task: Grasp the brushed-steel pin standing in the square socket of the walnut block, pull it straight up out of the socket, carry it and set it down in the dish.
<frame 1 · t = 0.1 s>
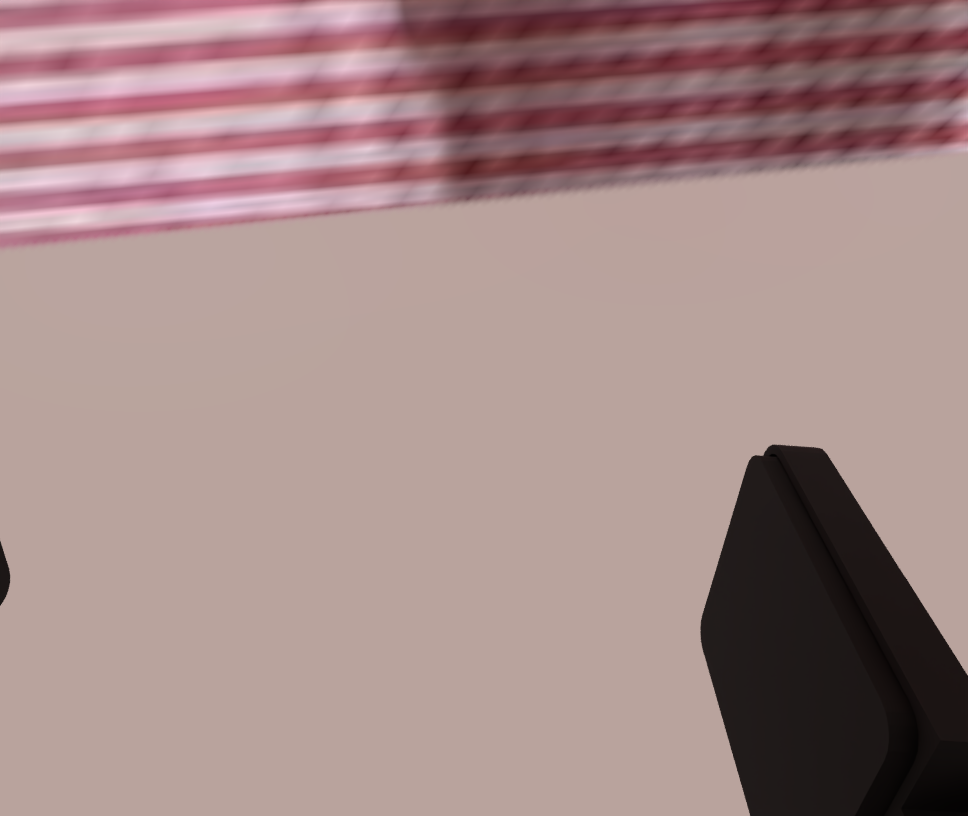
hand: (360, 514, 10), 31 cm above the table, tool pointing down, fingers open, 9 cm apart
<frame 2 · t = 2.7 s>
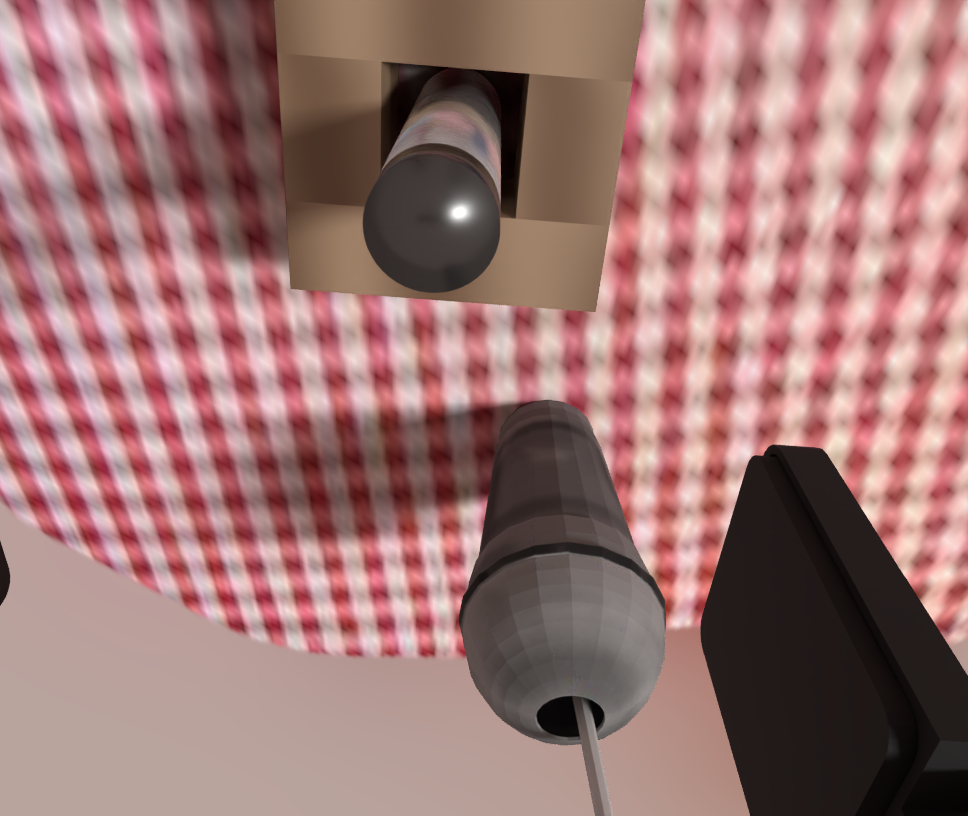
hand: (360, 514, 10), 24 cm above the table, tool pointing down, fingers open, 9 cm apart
beverage cup: (546, 438, 38), on the table
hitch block: (458, 113, 30), on the table
pin: (458, 113, 30), resting in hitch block
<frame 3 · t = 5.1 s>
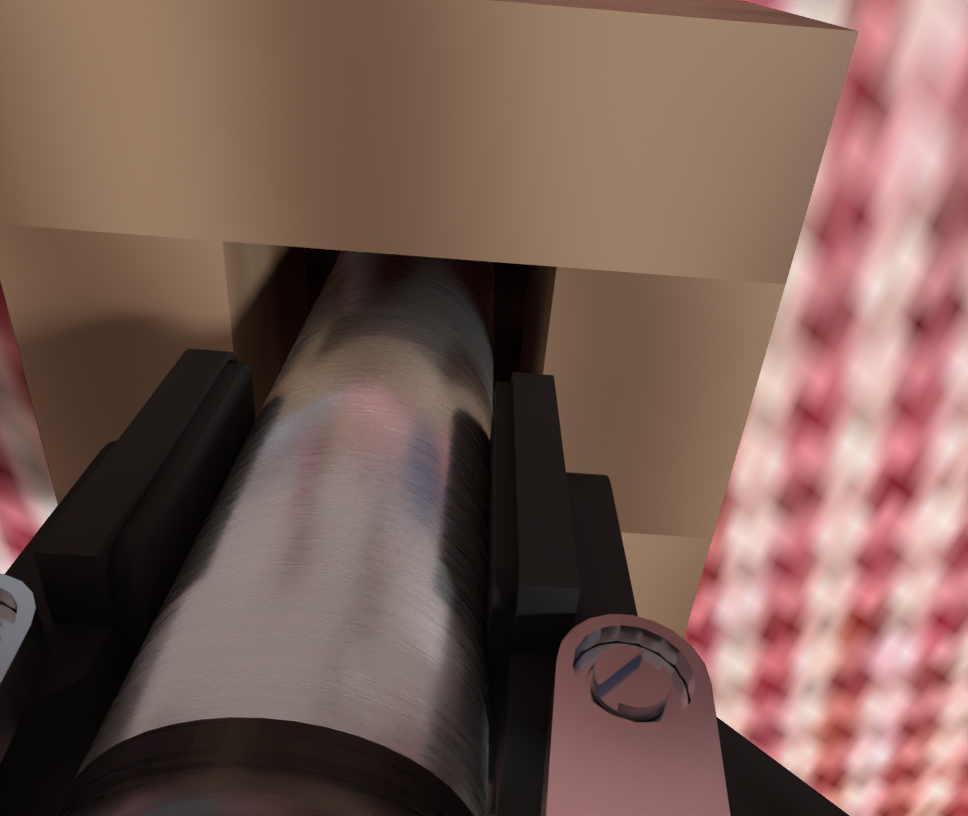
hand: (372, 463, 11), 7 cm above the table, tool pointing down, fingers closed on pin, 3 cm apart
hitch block: (417, 276, 16), on the table
pin: (417, 276, 16), resting in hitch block, touching gripper
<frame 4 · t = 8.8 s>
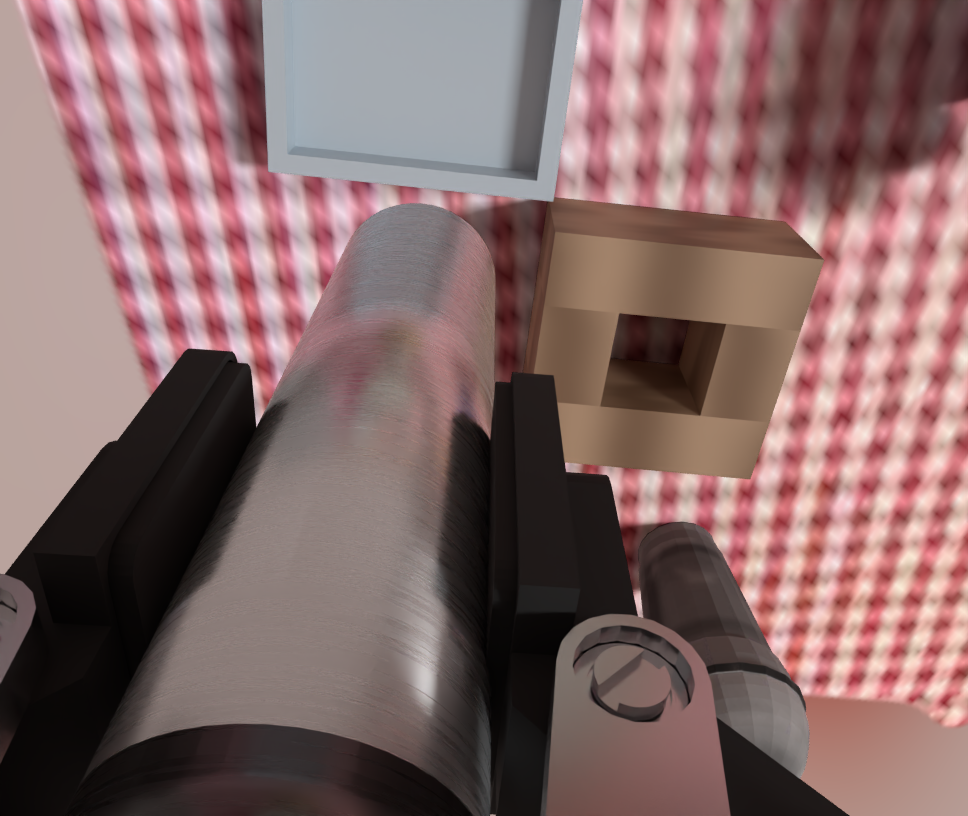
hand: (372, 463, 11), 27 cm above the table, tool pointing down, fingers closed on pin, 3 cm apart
beverage cup: (675, 549, 47), on the table
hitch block: (643, 319, 39), on the table
pin: (418, 279, 16), point 20 cm above the table, touching gripper
dish: (423, 63, 33), on the table
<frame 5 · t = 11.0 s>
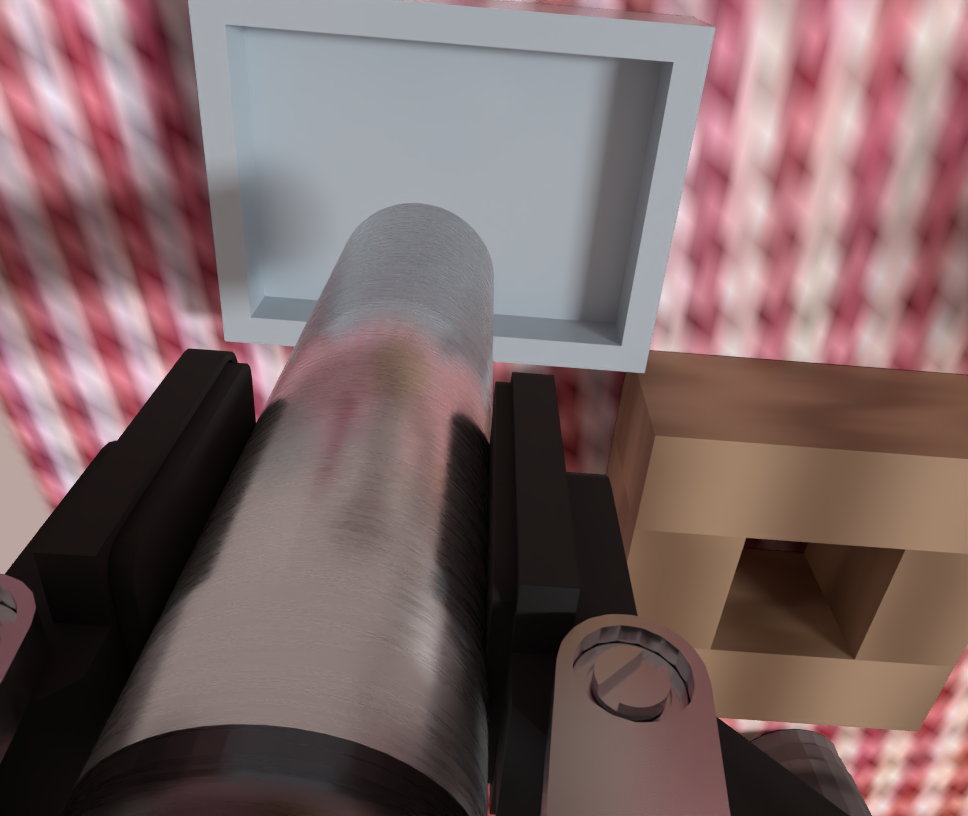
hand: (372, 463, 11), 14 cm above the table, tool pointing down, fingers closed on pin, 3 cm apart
beverage cup: (784, 757, 36), on the table
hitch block: (757, 499, 28), on the table
pin: (417, 279, 16), point 7 cm above the table, touching gripper
dish: (449, 175, 22), on the table
when the fingers open (9 cm above the table, at t = 12.6 s): pin stays where it is, resting on dish.
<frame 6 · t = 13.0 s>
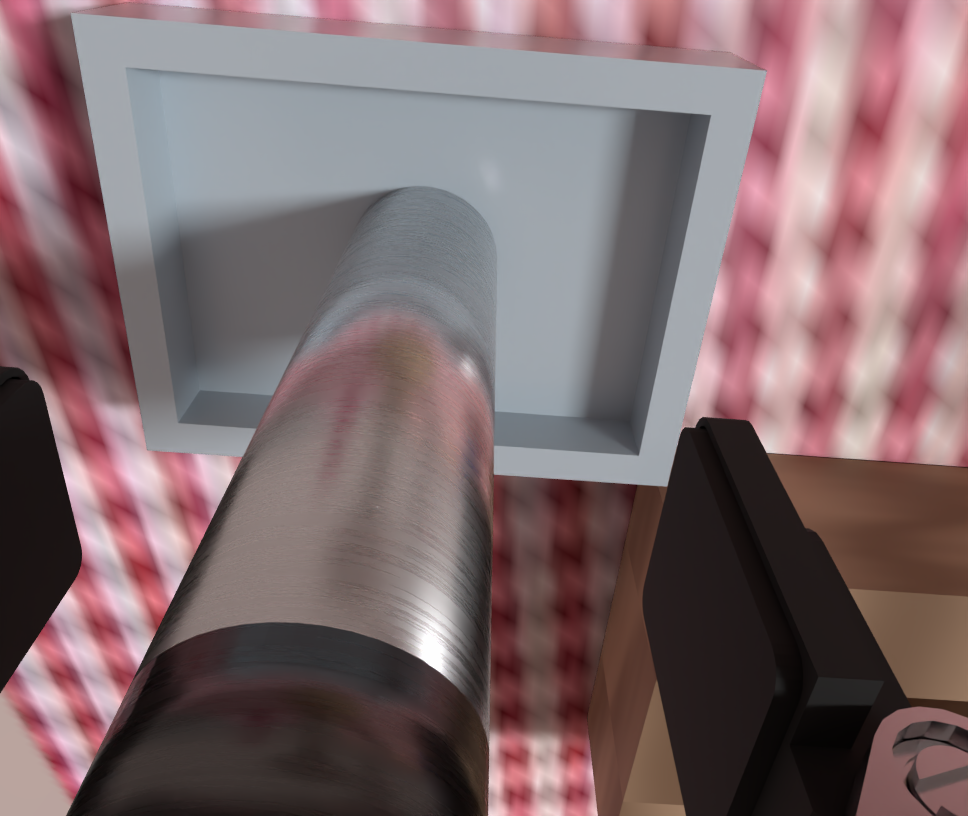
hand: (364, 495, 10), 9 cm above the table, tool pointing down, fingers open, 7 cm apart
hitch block: (794, 610, 24), on the table
pin: (423, 259, 17), point 1 cm above the table, touching dish
dish: (424, 244, 18), on the table
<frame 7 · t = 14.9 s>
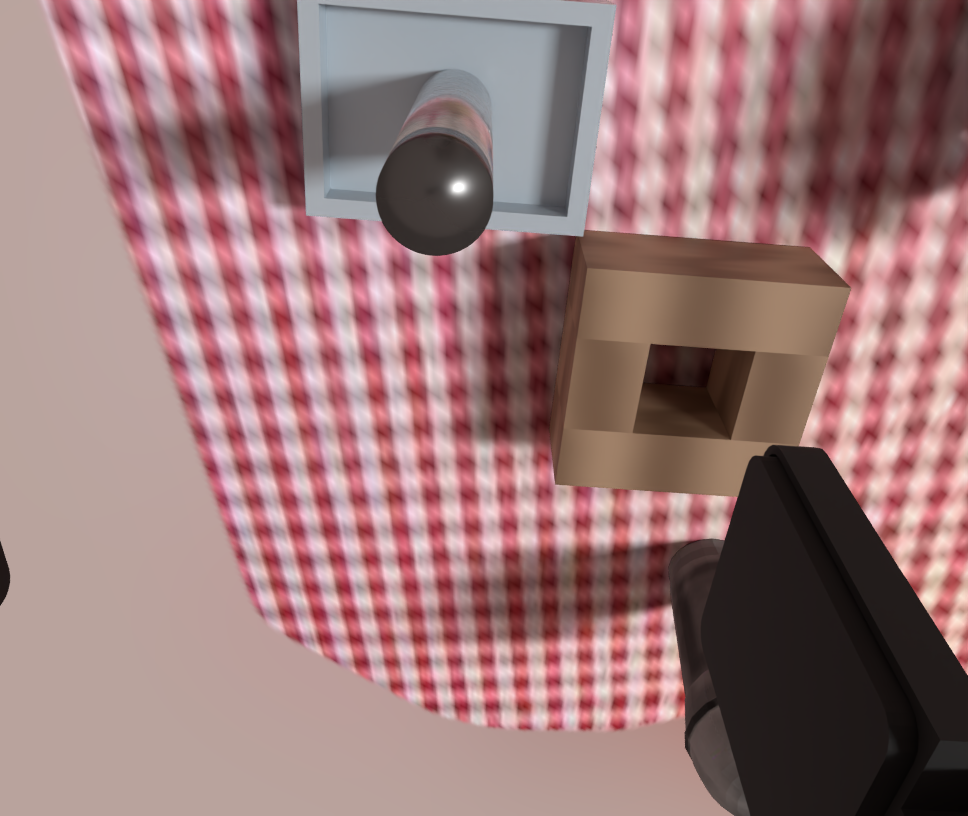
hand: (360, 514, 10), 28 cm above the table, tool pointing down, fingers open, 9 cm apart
beverage cup: (705, 565, 47), on the table
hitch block: (670, 344, 40), on the table
pin: (454, 110, 33), point 1 cm above the table, touching dish
dish: (453, 105, 34), on the table
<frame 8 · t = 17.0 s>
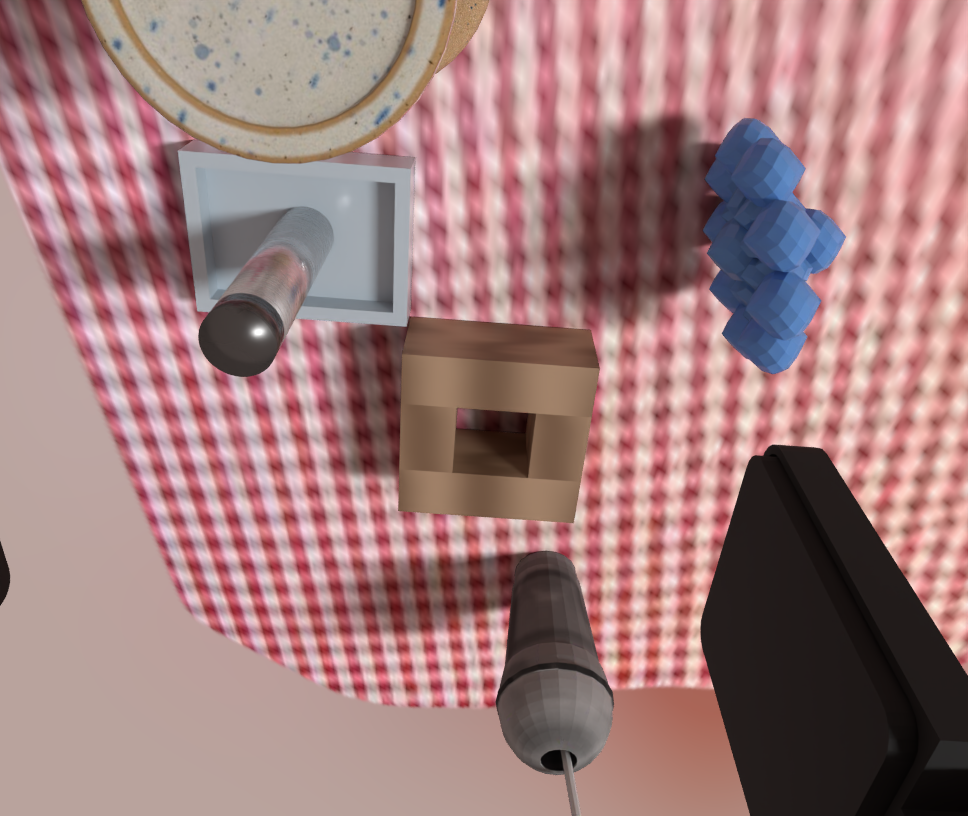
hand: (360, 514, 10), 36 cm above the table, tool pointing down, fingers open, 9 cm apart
beverage cup: (545, 572, 59), on the table
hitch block: (493, 401, 51), on the table
grapes: (743, 209, 44), on the table
pin: (305, 234, 44), point 1 cm above the table, touching dish
dish: (308, 229, 45), on the table
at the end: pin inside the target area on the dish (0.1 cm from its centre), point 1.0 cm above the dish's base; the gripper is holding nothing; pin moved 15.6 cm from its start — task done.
